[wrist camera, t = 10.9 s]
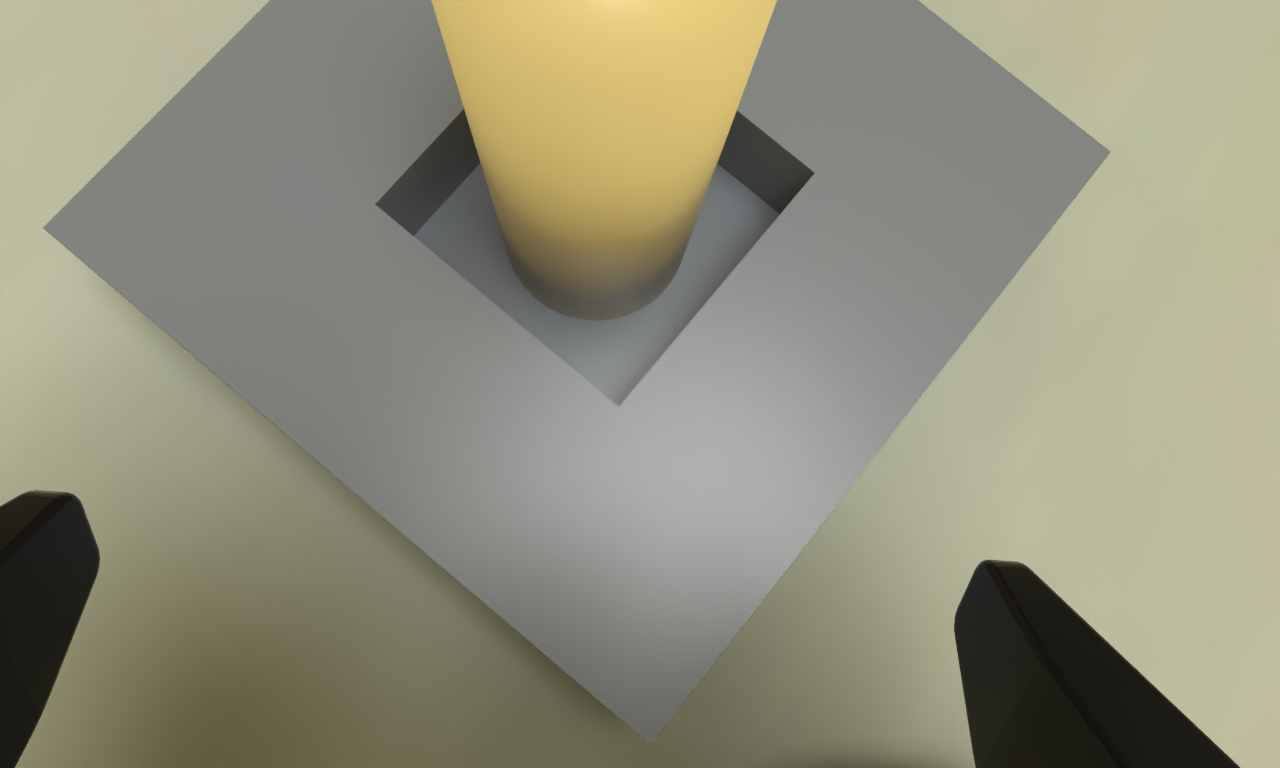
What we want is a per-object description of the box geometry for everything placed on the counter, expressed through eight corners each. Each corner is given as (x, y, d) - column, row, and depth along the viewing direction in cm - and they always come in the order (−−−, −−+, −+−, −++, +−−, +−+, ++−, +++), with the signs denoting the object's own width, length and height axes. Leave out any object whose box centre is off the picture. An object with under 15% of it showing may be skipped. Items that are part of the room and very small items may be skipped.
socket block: (1024, 211, 24) (1110, 151, 20) (639, 703, 22) (650, 744, 18) (559, -157, 25) (554, -285, 21) (138, 278, 22) (42, 228, 18)
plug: (721, 222, 22) (871, -105, 11) (607, 357, 22) (630, 168, 10) (585, 111, 23) (581, -332, 11) (467, 241, 22) (328, -79, 10)
